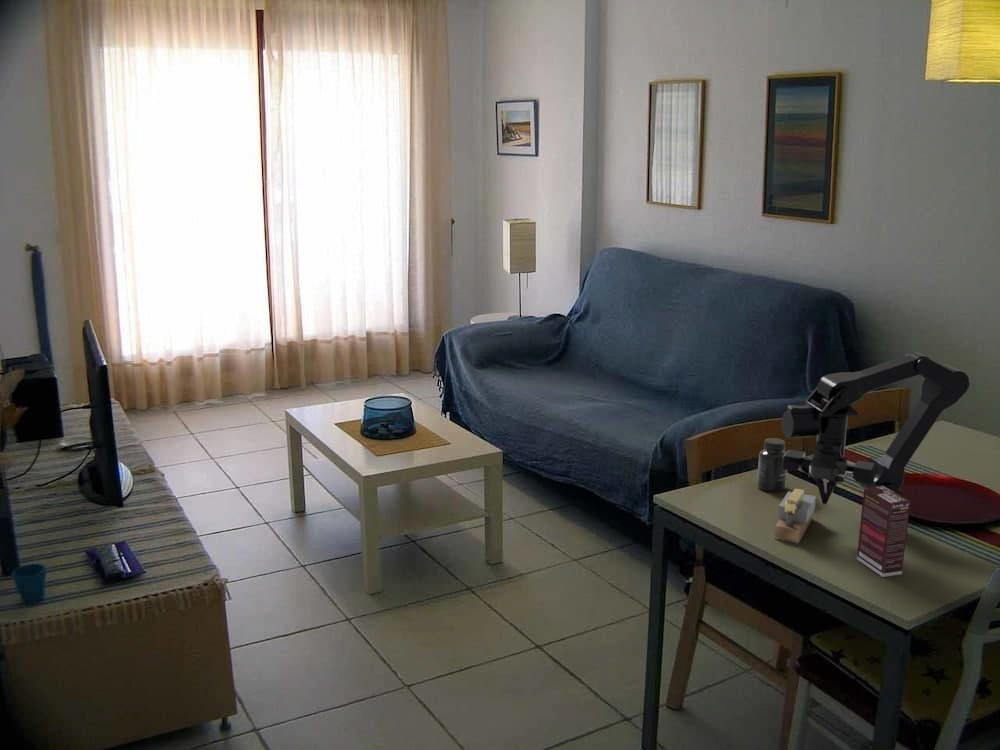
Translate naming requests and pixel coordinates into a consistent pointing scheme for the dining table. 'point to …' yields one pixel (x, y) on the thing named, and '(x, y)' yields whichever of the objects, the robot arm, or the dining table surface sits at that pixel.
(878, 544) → the supplement box
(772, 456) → the supplement bottle
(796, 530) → the key box
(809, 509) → the cover
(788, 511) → the tan rectangular bar
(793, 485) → the dining table surface
